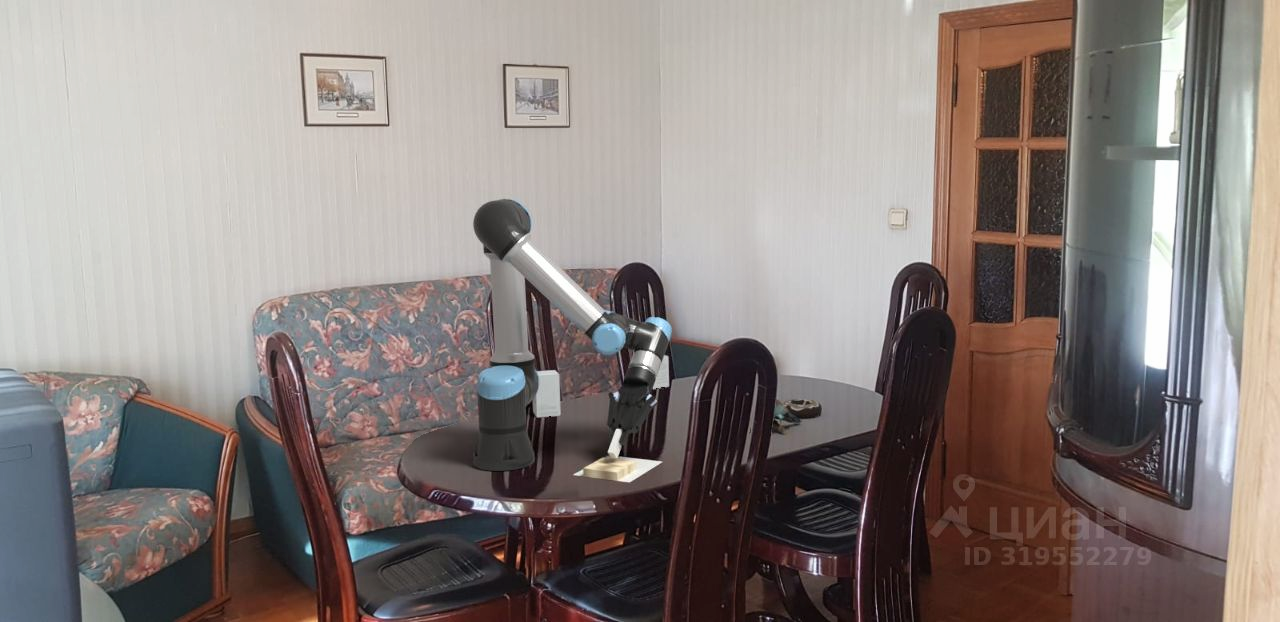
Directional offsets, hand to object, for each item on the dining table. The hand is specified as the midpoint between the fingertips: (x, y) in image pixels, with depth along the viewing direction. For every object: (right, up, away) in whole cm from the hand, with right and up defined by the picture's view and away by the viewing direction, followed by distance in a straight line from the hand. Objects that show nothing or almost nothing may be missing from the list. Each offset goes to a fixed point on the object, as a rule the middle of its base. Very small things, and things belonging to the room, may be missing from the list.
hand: (612, 455), depth 243 cm
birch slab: (+2, -2, +4) cm, 5 cm away
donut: (+53, +4, +55) cm, 77 cm away
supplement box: (-21, +3, +62) cm, 66 cm away
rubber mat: (+1, -4, +3) cm, 5 cm away
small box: (+11, +9, +96) cm, 98 cm away
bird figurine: (+43, +1, +37) cm, 57 cm away
